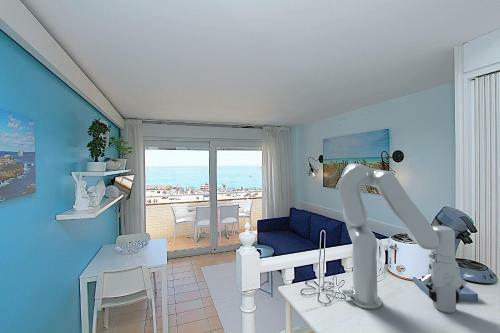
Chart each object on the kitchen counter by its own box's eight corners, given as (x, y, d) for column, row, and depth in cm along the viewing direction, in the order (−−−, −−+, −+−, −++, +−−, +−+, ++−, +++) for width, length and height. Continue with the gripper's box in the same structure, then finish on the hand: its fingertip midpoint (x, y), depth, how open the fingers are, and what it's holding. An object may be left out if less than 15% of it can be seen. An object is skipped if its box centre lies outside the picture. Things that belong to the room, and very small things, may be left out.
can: (460, 315, 93) (460, 284, 93) (438, 313, 95) (438, 283, 94) (448, 303, 100) (448, 275, 100) (428, 302, 102) (428, 274, 102)
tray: (431, 299, 104) (431, 292, 104) (411, 281, 120) (411, 275, 119) (477, 301, 102) (477, 294, 101) (451, 281, 117) (450, 275, 117)
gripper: (425, 261, 94) (426, 305, 95) (474, 261, 92) (475, 306, 93) (414, 253, 102) (415, 294, 102) (459, 253, 100) (460, 295, 100)
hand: (443, 300), depth 97 cm, fingers closed on can, 7 cm apart
